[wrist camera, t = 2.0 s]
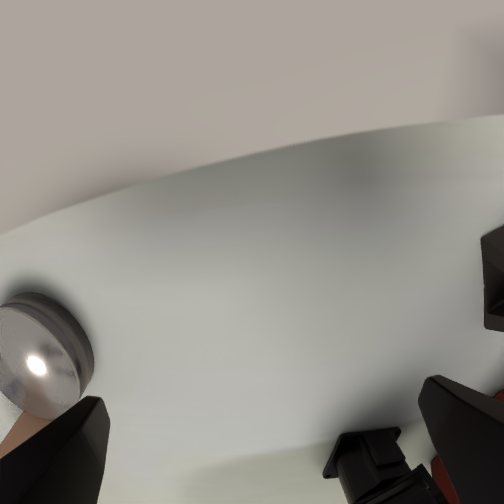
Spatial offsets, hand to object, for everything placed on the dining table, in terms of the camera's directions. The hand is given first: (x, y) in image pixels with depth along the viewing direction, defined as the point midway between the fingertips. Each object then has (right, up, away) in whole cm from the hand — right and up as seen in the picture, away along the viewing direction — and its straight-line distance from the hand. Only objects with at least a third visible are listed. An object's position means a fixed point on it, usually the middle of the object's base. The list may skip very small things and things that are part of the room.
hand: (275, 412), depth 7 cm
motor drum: (-17, -3, +12) cm, 21 cm away
